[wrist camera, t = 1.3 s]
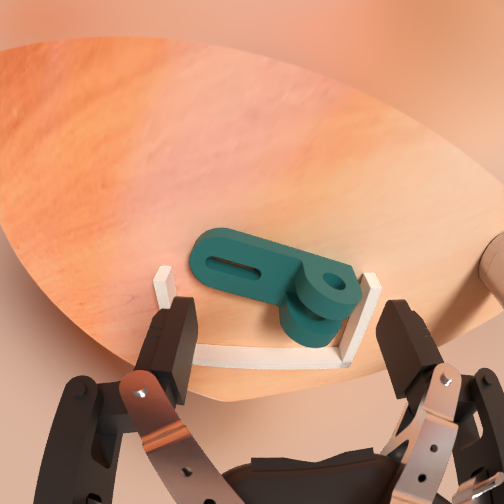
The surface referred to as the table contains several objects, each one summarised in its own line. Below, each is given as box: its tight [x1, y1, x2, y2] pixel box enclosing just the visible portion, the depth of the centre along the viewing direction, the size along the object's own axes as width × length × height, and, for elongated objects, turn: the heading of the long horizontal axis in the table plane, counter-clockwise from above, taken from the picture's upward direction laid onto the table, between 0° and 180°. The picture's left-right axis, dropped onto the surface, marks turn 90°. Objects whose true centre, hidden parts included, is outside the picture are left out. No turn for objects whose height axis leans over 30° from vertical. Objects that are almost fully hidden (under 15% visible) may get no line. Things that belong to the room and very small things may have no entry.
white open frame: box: [153, 265, 382, 369], centre depth 35 cm, size 26×16×3 cm, turn 89°
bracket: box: [190, 228, 362, 348], centre depth 29 cm, size 18×7×8 cm, turn 72°
